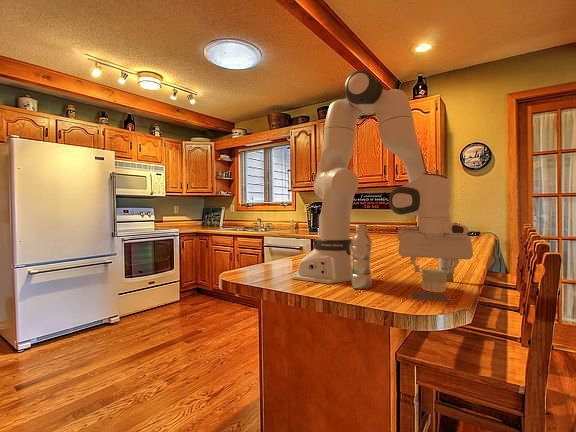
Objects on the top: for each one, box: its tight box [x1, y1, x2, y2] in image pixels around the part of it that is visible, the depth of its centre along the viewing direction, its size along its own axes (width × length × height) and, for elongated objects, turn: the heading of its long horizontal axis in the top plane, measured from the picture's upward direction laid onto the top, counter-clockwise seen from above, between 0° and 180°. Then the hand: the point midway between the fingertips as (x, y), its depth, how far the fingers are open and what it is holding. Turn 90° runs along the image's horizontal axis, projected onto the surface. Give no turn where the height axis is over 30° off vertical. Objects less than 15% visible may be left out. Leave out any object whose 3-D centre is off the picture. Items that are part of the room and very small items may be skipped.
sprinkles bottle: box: [438, 258, 454, 284], centre depth 106 cm, size 5×5×13 cm
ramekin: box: [421, 278, 447, 293], centre depth 95 cm, size 6×6×4 cm
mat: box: [410, 291, 450, 303], centre depth 87 cm, size 9×8×1 cm
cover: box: [421, 268, 447, 284], centre depth 95 cm, size 6×8×2 cm
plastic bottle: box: [350, 224, 373, 290], centre depth 98 cm, size 6×7×20 cm
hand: (433, 272), depth 94 cm, fingers open, 8 cm apart
